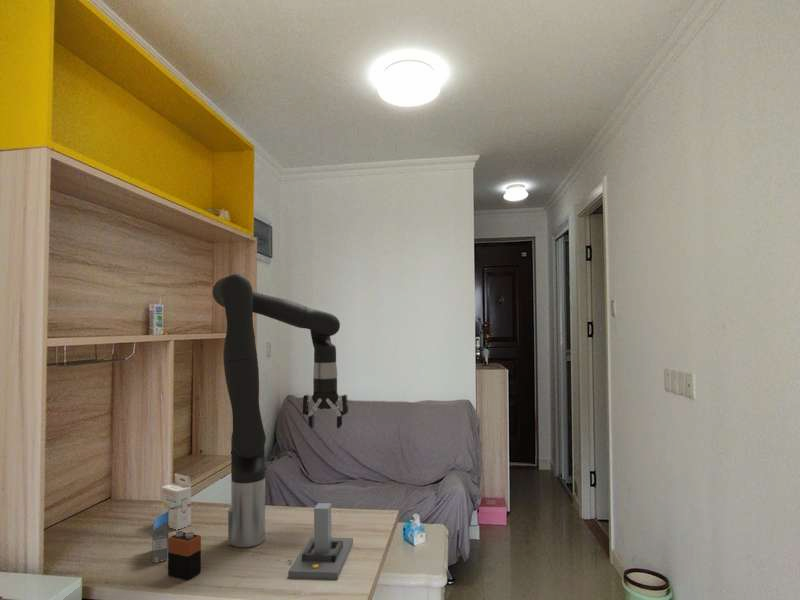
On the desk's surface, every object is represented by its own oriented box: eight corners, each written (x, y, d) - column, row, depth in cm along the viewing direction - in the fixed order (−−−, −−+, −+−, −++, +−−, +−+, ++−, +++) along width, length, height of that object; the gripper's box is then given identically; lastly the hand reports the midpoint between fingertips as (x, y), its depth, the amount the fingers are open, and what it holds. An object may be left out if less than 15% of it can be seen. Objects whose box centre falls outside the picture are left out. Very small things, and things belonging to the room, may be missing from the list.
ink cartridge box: (159, 525, 154) (160, 476, 155) (174, 520, 158) (175, 472, 159) (176, 531, 150) (177, 480, 151) (191, 525, 154) (192, 476, 155)
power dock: (288, 577, 120) (288, 564, 120) (310, 542, 140) (310, 531, 140) (337, 579, 119) (337, 566, 119) (353, 543, 139) (353, 532, 139)
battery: (187, 581, 119) (188, 538, 120) (166, 576, 122) (167, 533, 122) (201, 573, 123) (202, 531, 124) (181, 568, 126) (181, 527, 126)
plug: (314, 556, 128) (314, 508, 129) (318, 549, 132) (317, 503, 133) (328, 557, 128) (327, 508, 128) (331, 550, 132) (331, 503, 132)
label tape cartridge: (153, 550, 137) (154, 503, 138) (169, 547, 138) (169, 501, 139) (151, 563, 129) (152, 514, 129) (168, 560, 130) (168, 512, 131)
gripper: (300, 377, 158) (300, 430, 157) (344, 377, 156) (345, 430, 155) (306, 375, 165) (306, 425, 164) (349, 375, 164) (349, 425, 163)
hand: (325, 427), depth 160 cm, fingers open, 8 cm apart
